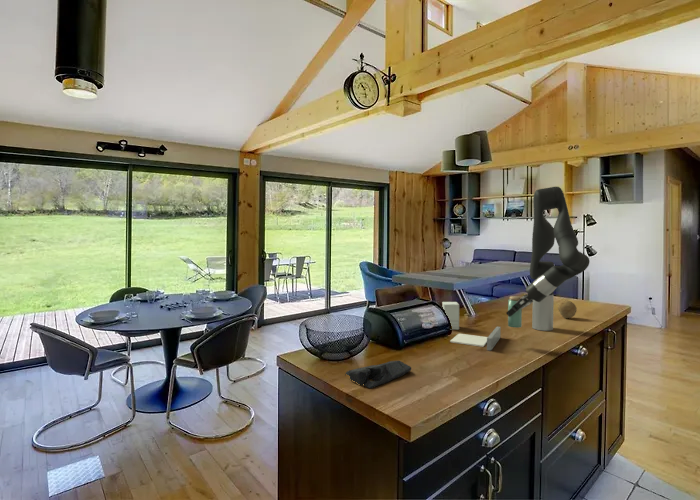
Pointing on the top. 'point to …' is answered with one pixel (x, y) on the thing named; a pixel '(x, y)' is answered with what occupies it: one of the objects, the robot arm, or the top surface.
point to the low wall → (493, 338)
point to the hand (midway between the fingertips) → (510, 313)
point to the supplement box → (452, 313)
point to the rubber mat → (470, 340)
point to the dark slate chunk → (378, 373)
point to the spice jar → (517, 316)
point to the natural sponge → (567, 309)
